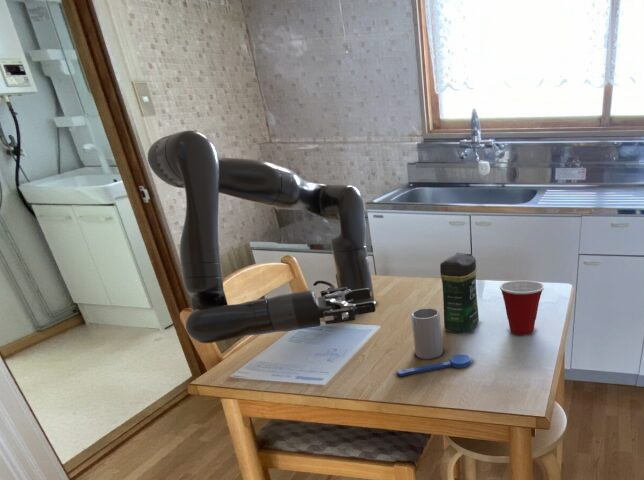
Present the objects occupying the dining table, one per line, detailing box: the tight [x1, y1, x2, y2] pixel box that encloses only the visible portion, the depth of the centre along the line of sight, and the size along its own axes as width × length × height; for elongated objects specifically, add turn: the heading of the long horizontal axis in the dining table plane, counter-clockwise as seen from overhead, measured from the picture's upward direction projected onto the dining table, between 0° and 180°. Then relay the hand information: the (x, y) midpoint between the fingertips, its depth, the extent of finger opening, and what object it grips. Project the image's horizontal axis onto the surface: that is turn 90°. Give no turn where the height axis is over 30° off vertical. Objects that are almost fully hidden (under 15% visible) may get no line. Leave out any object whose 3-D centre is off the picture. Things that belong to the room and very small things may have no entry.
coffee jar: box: [439, 252, 480, 334], centre depth 129 cm, size 10×8×19 cm
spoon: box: [396, 353, 472, 377], centre depth 115 cm, size 17×5×1 cm, turn 108°
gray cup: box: [410, 307, 444, 360], centre depth 119 cm, size 6×6×10 cm
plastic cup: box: [499, 279, 545, 336], centre depth 127 cm, size 11×11×12 cm
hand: (372, 299), depth 111 cm, fingers open, 8 cm apart
